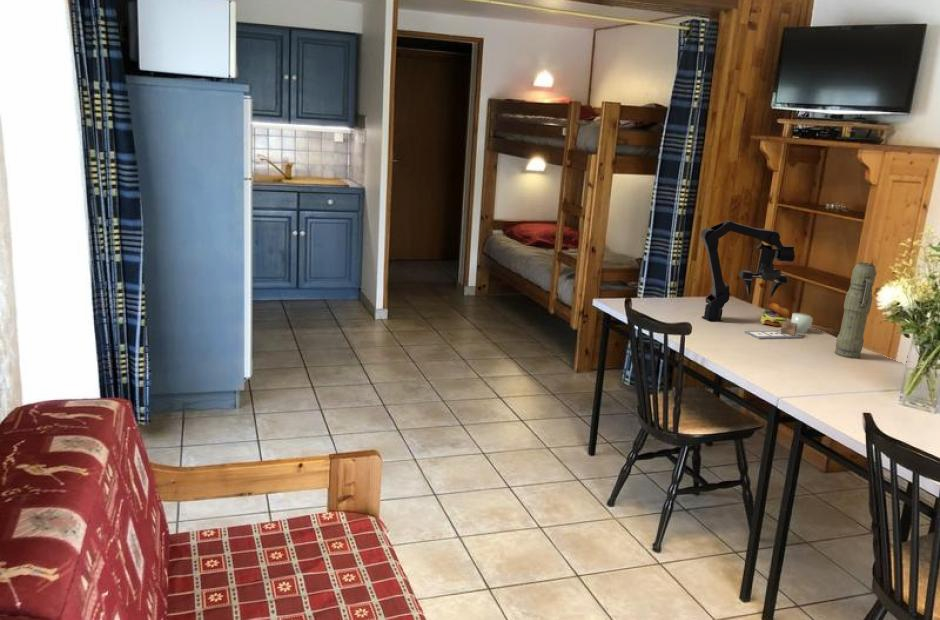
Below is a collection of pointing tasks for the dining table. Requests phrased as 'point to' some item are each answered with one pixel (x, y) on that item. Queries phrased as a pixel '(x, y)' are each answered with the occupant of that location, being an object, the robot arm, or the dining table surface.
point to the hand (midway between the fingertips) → (759, 296)
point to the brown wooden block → (789, 328)
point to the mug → (802, 322)
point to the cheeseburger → (775, 315)
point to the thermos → (856, 311)
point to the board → (771, 335)
